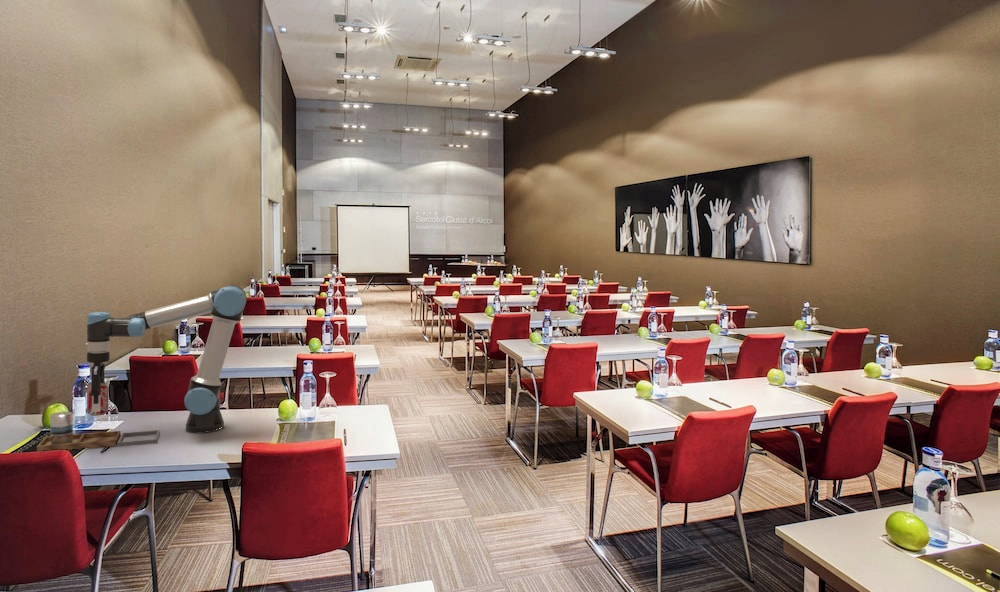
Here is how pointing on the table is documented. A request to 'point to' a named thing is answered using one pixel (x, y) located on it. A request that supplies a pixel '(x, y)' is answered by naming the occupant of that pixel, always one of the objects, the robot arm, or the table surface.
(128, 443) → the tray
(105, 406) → the soda can
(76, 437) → the caddy
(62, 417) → the translucent grey rounded cylinder
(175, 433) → the table surface
